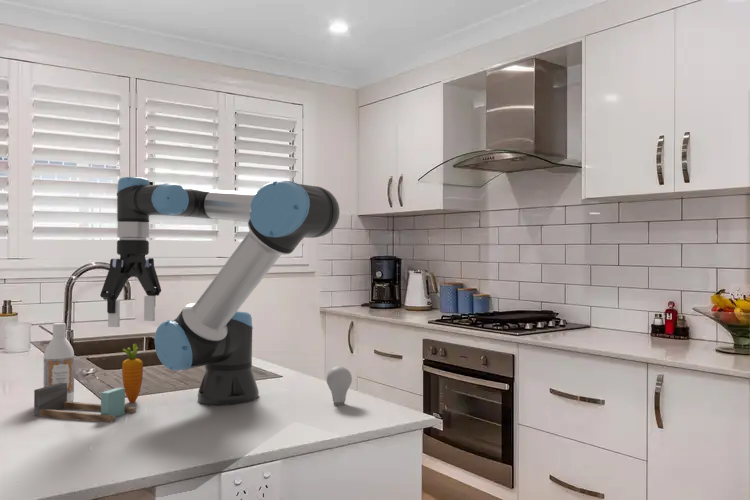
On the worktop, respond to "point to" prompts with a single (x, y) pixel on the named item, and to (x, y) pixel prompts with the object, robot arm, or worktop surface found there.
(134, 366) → the carrot
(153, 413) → the worktop surface
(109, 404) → the cap
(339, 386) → the lightbulb
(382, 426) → the worktop surface
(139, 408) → the worktop surface
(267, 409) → the worktop surface
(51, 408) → the track
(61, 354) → the bath foam
